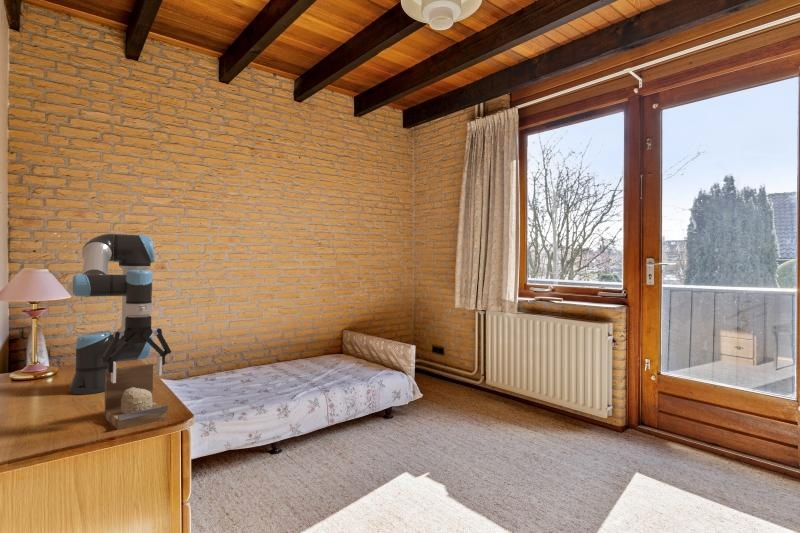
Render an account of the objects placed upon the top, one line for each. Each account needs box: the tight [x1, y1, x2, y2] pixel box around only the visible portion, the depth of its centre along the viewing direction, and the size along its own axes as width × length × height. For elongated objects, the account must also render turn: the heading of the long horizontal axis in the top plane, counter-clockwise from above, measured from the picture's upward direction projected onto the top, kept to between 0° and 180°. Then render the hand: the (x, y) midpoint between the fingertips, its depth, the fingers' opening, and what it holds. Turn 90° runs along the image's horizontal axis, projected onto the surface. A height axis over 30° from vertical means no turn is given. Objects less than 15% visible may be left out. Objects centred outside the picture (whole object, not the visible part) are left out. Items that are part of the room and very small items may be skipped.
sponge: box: [121, 387, 153, 414], centre depth 141 cm, size 9×10×10 cm
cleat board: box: [103, 363, 169, 431], centre depth 141 cm, size 17×14×16 cm
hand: (137, 378), depth 141 cm, fingers open, 13 cm apart
